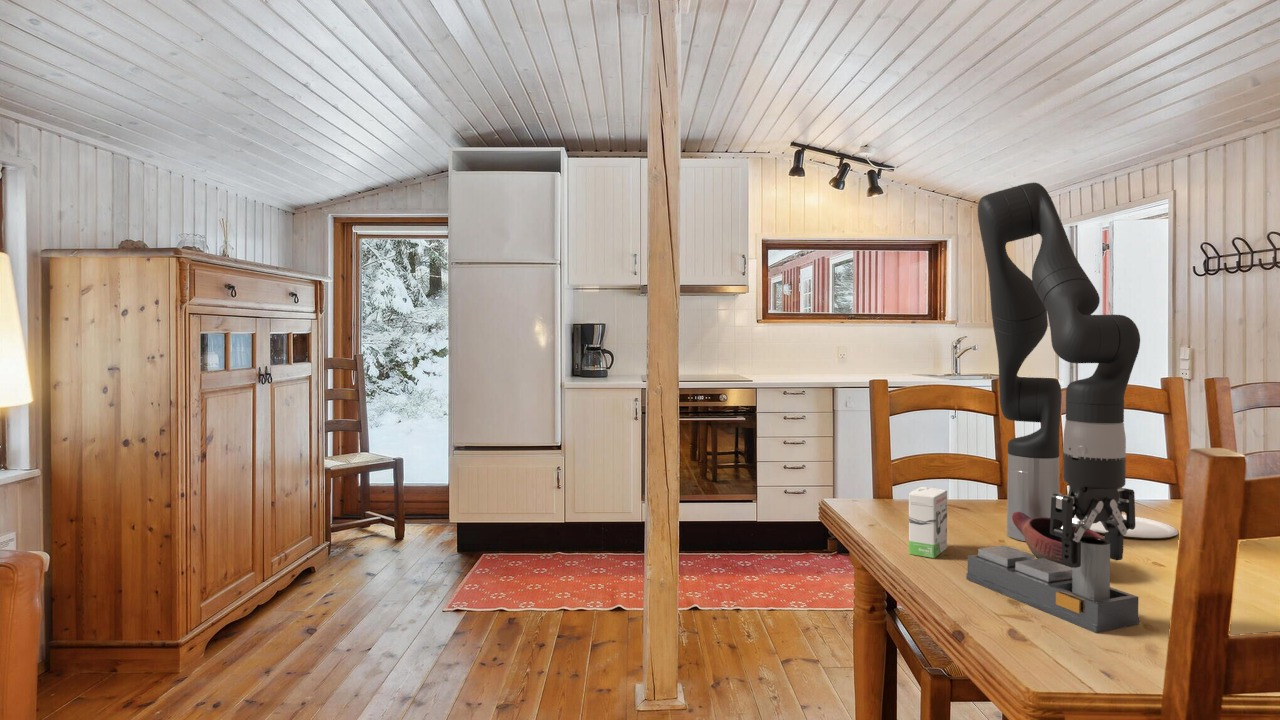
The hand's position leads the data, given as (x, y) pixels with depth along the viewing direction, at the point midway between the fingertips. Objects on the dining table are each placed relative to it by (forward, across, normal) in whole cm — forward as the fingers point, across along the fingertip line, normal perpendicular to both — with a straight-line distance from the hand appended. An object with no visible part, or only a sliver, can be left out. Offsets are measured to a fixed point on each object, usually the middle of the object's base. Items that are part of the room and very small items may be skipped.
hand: (1092, 562), depth 97 cm
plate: (+9, -53, -33) cm, 63 cm away
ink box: (+8, -1, -33) cm, 34 cm away
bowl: (+9, -16, -18) cm, 26 cm away
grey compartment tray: (+8, 0, -7) cm, 11 cm away
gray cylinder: (+7, 0, 0) cm, 7 cm away
